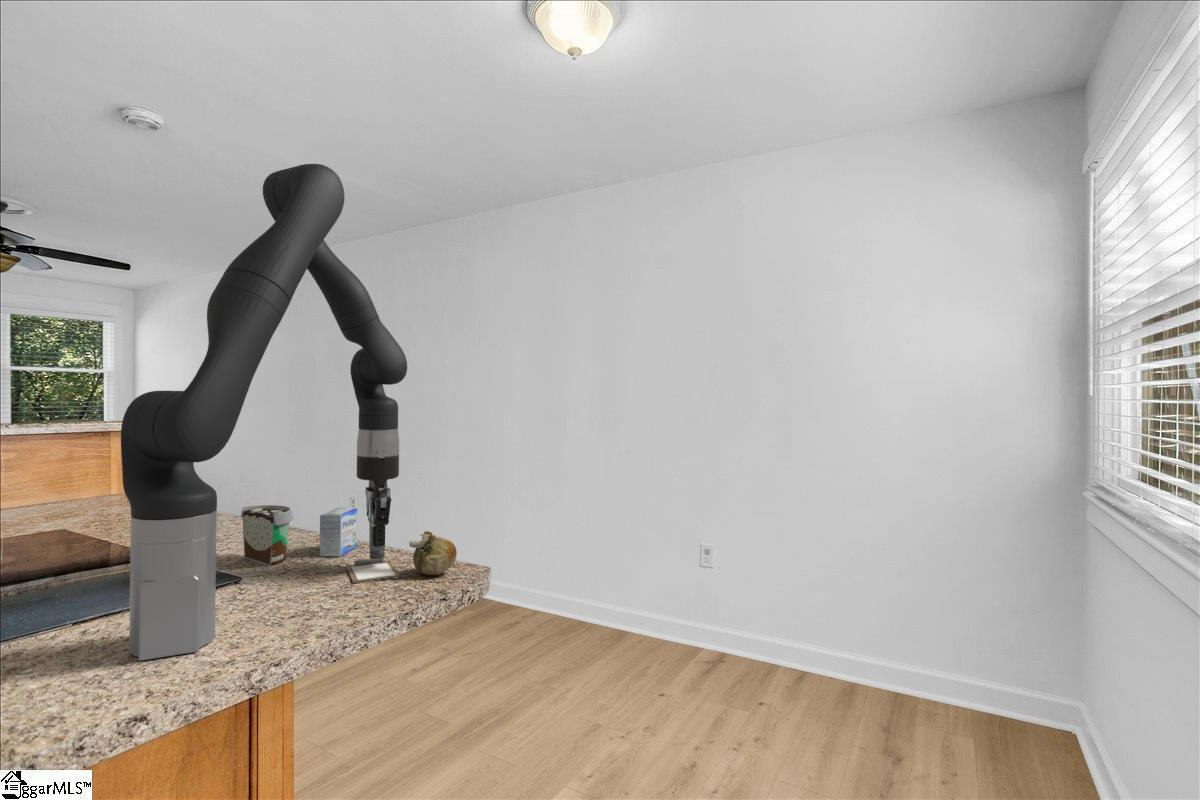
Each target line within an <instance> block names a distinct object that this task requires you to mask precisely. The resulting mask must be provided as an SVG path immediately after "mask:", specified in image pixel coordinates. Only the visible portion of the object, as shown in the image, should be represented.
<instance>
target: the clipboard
mask: <svg viewBox="0 0 1200 800" xmlns="http://www.w3.org/2000/svg"><path fill="white" fill-rule="evenodd" d="M345 569H346V570H347V573H348V575H349V577H351V578H350V580H351V579H352V580H351V582H352V584H353V583H355V584H360V583H359V582H363V583H365V582H364V581H371V580H378V579H385V578H393V577H402V576H401V574H400V572H398V570H397V569H396V567H395V565H393V563H392V562H391V560H384V558H381V559H371V558H368V559H360V560H359V559H358V560H354V563H353V564H347V565H345ZM371 582H372V581H371Z"/></svg>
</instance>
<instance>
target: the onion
mask: <svg viewBox="0 0 1200 800" xmlns="http://www.w3.org/2000/svg"><path fill="white" fill-rule="evenodd" d="M420 536H421V537H422V538H421V540H410V541H409V542H408V543H409V547H411V548H414V553H413V556H412V563H413V564H414V565H413V566H414V567H415V569H416V570H417V571H418V573H420V574H423V575H425V576H430V575H436V576H439V575H441V574H443V573H444V572H445V573H446V571H447V570H449V569H450V568H451V567H453V565H454V563H455V561H456V560H457V547H456V545H455V544H454V543H453V541H451V540H449V539H446V538H445V537H440V536H437V535H434V534H433V531H429V530H428V531H425V530H424V532H423V533H422V534H420Z"/></svg>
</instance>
